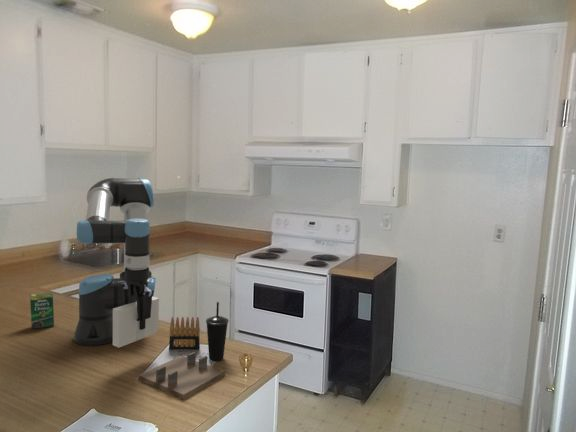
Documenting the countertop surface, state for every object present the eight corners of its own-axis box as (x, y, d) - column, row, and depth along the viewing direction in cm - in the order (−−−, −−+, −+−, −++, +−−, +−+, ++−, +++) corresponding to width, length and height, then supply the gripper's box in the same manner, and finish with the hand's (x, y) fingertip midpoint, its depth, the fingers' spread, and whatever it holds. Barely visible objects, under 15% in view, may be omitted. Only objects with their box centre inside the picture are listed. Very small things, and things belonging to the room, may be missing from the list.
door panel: (112, 345, 144) (112, 308, 142) (152, 329, 158) (152, 296, 156) (118, 347, 142) (119, 310, 141) (158, 332, 156) (158, 298, 154)
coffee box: (30, 329, 174) (29, 296, 173) (30, 326, 177) (30, 293, 175) (54, 326, 178) (53, 294, 176) (54, 324, 180) (53, 292, 179)
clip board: (138, 379, 140) (138, 364, 139) (181, 359, 155) (181, 345, 154) (183, 399, 130) (184, 382, 129) (224, 375, 145) (225, 360, 144)
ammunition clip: (199, 347, 165) (200, 315, 164) (199, 350, 163) (200, 317, 162) (169, 347, 164) (170, 315, 162) (168, 350, 162) (169, 317, 161)
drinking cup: (202, 354, 159) (204, 299, 157) (224, 352, 162) (226, 298, 160) (207, 364, 152) (208, 306, 150) (229, 361, 155) (231, 305, 153)
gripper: (111, 264, 148) (110, 333, 151) (144, 274, 139) (144, 347, 143) (130, 260, 154) (129, 327, 157) (163, 269, 146) (162, 339, 149)
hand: (136, 336), depth 150 cm, fingers closed on door panel, 3 cm apart
